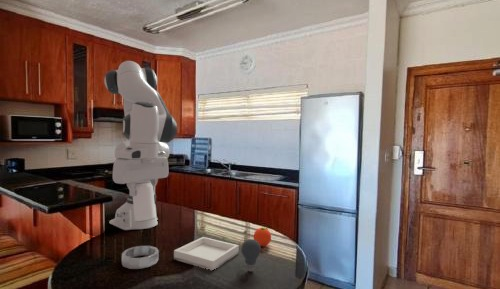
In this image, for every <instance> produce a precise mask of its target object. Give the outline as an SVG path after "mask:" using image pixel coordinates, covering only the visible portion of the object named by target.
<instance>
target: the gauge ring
mask: <svg viewBox="0 0 500 289" xmlns="http://www.w3.org/2000/svg"><path fill="white" fill-rule="evenodd" d="M159 253H160V250H159V249H158V248H157V247H156V246H153V245H152V246H151V245H137V246H133V247H128V248H127V249H125V250H124V251H123V252H122V253H121V265H122V267H124V268H127V269H129V270H130V269H131V270H139V269H145V268H149V267H152V266H154V265H157V263H158V261H159V259H160V258H159V257H160V254H159ZM141 256H143V257H141Z"/></svg>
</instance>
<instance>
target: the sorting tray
mask: <svg viewBox="0 0 500 289" xmlns="http://www.w3.org/2000/svg"><path fill="white" fill-rule="evenodd" d="M239 251H240V245H239V244H236V243H231V242H226V241H223V240H218V239H214V238H209V237H207V236H202V237H200V238H199V237H198V238H197V239H195V240H193V241H191V242H189V243H187V244H184V245H183V246H181V247H178V248H176V249H174V250H173V260H176V261H178V262H182V263H185V264H188V265H193V266H196V267H198V266H199V267H198V268H201V269H205V268H206V270H208V269H210V270H209V271H212V270H214V269H215V270H216V268H217V269H218V268H219V267H221V266H222V265H224V264H225V263H227V262H228V261H230V260H231V259H232V258H233V259H234V257H235V256H237V255H238V254H239V253H240V252H239ZM215 270H214V271H215Z"/></svg>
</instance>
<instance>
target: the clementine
mask: <svg viewBox="0 0 500 289" xmlns="http://www.w3.org/2000/svg"><path fill="white" fill-rule="evenodd" d="M253 240H256V241H257V242H258V243H259V244H260V247H266V246H268V245H269V244H270V243H271V241H272V234H271V232H270V230H269V229H268V227H264V226H263V227H259V228H257V229H256V230H255V231H254V233H253Z"/></svg>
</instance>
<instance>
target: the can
mask: <svg viewBox="0 0 500 289" xmlns="http://www.w3.org/2000/svg"><path fill="white" fill-rule="evenodd" d="M134 188H135V190H137V195H136V196H133V206H134V217H135V221H136V222H141V221H148V220H152V219H154V218H155V217H156V215H157V213H156V214H155V204H156V202H155V203H154V192H153V186H152V184H151V182H144V183H136V184H135V186H134Z"/></svg>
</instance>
